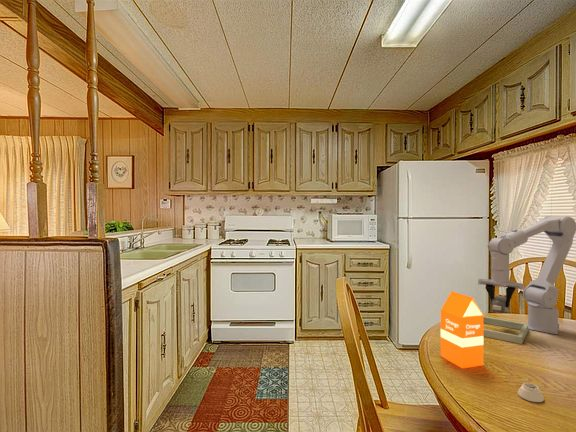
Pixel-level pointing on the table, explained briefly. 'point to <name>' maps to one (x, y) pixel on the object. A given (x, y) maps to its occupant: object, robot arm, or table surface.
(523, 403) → the table surface
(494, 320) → the sage frame
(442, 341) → the orange juice
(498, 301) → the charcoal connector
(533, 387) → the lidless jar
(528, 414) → the table surface
